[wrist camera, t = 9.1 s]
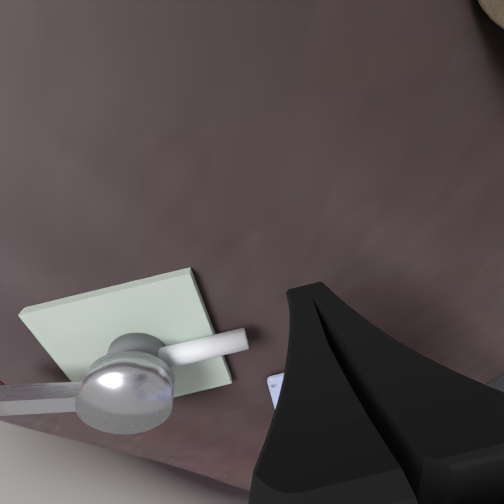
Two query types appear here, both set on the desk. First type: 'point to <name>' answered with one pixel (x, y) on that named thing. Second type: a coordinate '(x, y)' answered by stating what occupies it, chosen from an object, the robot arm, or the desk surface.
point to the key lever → (103, 394)
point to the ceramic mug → (494, 10)
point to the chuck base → (138, 329)
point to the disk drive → (497, 383)
